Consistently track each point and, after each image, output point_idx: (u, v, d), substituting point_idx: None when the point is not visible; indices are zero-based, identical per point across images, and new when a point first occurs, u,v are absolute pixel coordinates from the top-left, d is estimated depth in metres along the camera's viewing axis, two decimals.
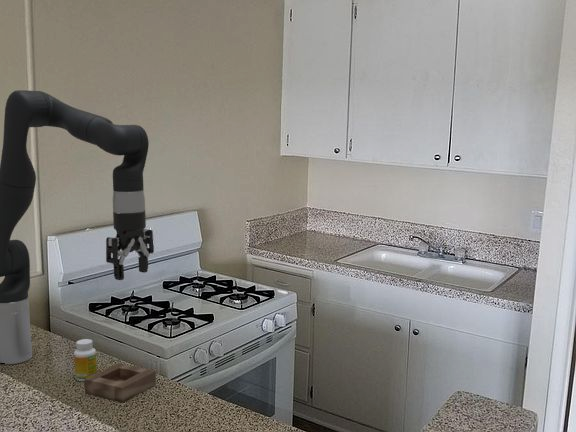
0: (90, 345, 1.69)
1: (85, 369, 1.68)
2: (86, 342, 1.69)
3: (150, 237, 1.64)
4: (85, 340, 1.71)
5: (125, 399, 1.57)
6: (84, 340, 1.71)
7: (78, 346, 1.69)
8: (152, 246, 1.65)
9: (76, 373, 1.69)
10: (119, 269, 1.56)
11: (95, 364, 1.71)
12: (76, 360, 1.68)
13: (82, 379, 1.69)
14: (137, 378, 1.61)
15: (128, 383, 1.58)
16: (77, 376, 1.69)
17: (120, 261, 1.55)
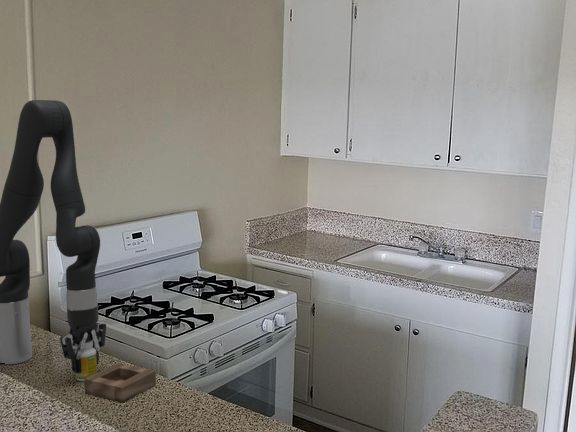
0: (90, 345, 1.69)
1: (85, 368, 1.68)
2: None
3: (103, 331, 1.74)
4: None
5: (125, 399, 1.57)
6: None
7: None
8: (103, 340, 1.75)
9: (76, 373, 1.69)
10: (76, 363, 1.67)
11: (95, 364, 1.71)
12: None
13: (82, 379, 1.69)
14: (137, 378, 1.61)
15: (128, 383, 1.58)
16: (77, 376, 1.69)
17: (77, 356, 1.67)
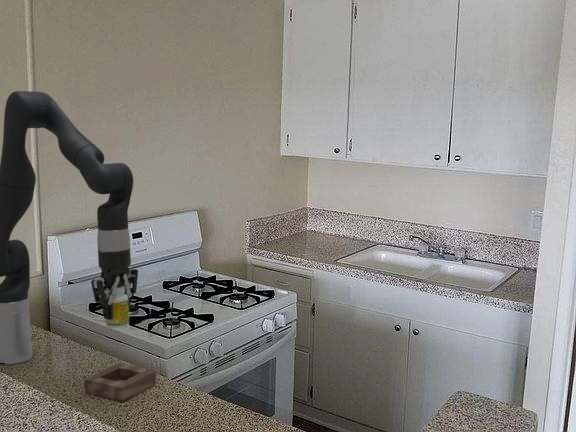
0: (122, 290, 1.60)
1: (117, 315, 1.59)
2: (118, 287, 1.60)
3: (135, 276, 1.65)
4: None
5: (125, 399, 1.57)
6: None
7: None
8: (135, 286, 1.65)
9: (107, 320, 1.60)
10: (108, 309, 1.58)
11: (127, 311, 1.61)
12: None
13: (114, 326, 1.59)
14: (137, 378, 1.61)
15: (128, 383, 1.58)
16: (108, 323, 1.59)
17: (109, 301, 1.57)
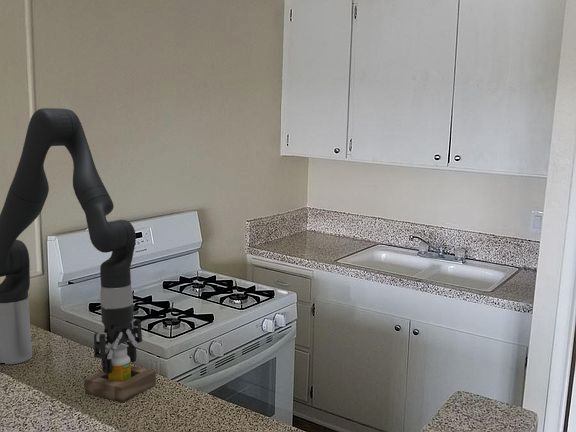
0: (125, 352, 1.62)
1: (119, 377, 1.61)
2: (120, 349, 1.62)
3: (138, 327, 1.67)
4: (119, 347, 1.64)
5: (125, 399, 1.57)
6: (118, 347, 1.63)
7: (112, 354, 1.61)
8: (140, 335, 1.68)
9: None
10: (107, 363, 1.58)
11: (129, 372, 1.63)
12: None
13: None
14: (137, 378, 1.61)
15: (128, 383, 1.58)
16: None
17: (108, 356, 1.58)
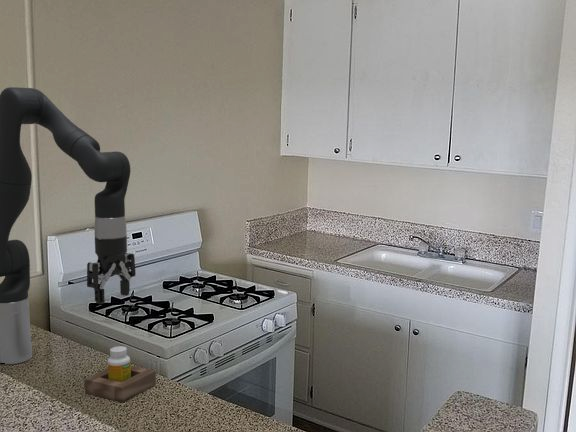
0: (124, 353, 1.62)
1: (119, 377, 1.61)
2: (120, 349, 1.62)
3: (132, 261, 1.67)
4: (119, 347, 1.64)
5: (125, 399, 1.57)
6: (118, 347, 1.63)
7: (112, 354, 1.61)
8: (134, 269, 1.68)
9: None
10: (100, 293, 1.59)
11: (129, 372, 1.63)
12: (110, 368, 1.61)
13: None
14: (137, 378, 1.61)
15: (128, 383, 1.58)
16: None
17: (101, 286, 1.58)
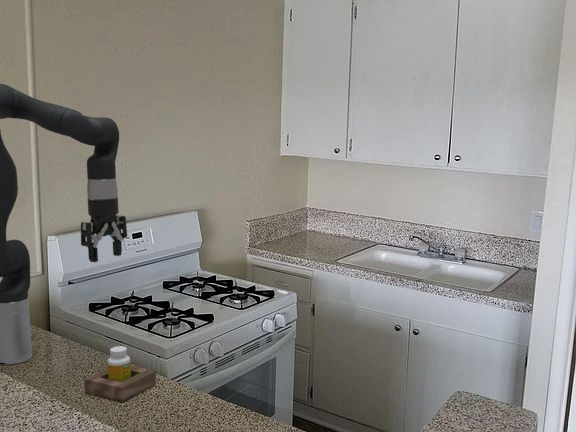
0: (125, 353, 1.62)
1: (119, 377, 1.61)
2: (120, 349, 1.62)
3: (123, 223, 1.76)
4: (119, 347, 1.64)
5: (125, 399, 1.57)
6: (118, 347, 1.63)
7: (112, 354, 1.61)
8: (125, 231, 1.77)
9: None
10: (93, 252, 1.67)
11: (129, 372, 1.63)
12: (111, 368, 1.61)
13: None
14: (137, 378, 1.61)
15: (128, 383, 1.58)
16: None
17: (94, 244, 1.67)
